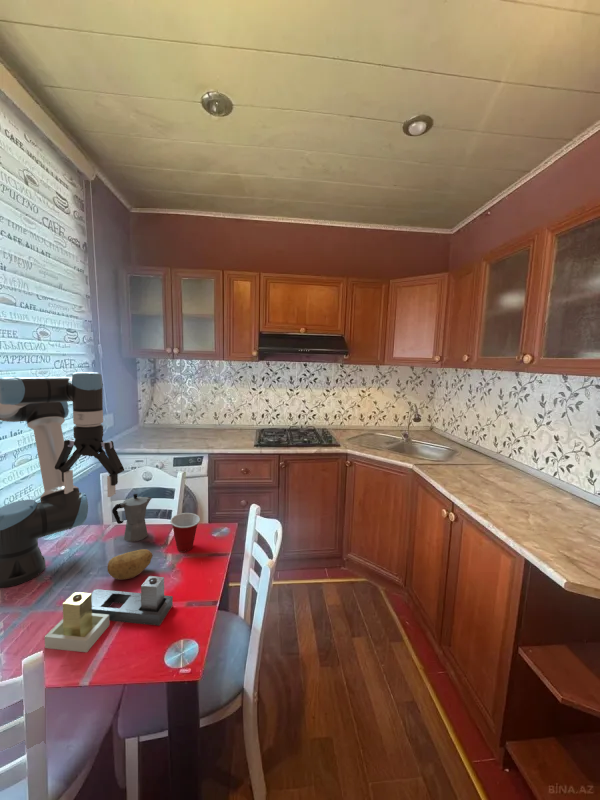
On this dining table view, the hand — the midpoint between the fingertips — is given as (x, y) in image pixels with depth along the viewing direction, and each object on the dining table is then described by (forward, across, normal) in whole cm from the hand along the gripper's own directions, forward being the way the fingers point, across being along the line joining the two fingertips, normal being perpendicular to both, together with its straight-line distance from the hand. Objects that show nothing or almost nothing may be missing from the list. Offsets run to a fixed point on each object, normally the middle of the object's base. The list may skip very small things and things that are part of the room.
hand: (90, 493), depth 104 cm
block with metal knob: (+31, +8, -17) cm, 36 cm away
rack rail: (+31, +15, -7) cm, 36 cm away
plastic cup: (+32, +18, +28) cm, 46 cm away
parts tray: (+31, +8, -17) cm, 37 cm away
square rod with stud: (+31, +23, -7) cm, 40 cm away
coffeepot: (+32, -6, +33) cm, 46 cm away
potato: (+32, +7, +9) cm, 34 cm away
